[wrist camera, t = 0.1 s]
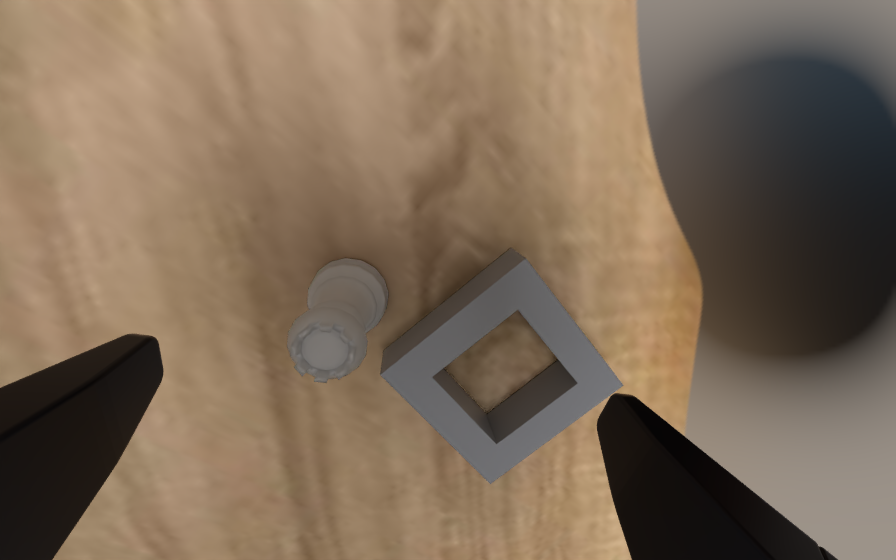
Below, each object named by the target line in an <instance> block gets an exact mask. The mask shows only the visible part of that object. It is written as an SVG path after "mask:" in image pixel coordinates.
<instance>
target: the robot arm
mask: <svg viewBox="0 0 896 560" xmlns="http://www.w3.org/2000/svg"><path fill="white" fill-rule="evenodd" d="M162 378H163V364H162V359H161V353H160V348H159V343H158V340H157V339H156V338H155V337H153V336H149V335H140V334H127V335H124V336H121V337H119V338H117V339H114V340H112V341H110V342H107V343H105V344H103V345H100V346H98V347H96V348H93V349H91V350H88V351H86V352H84V353H81V354H79V355H77V356H74V357H72V358H70V359H67V360H65V361H63V362H60V363H58V364H55V365H53V366H51V367H48V368H46V369H44V370H41V371H39V372H37V373H34V374H32V375H29V376H27V377H25V378H22V379H20V380H18V381H15V382H13V383H11V384H8V385H6V386H4V387H1V388H0V560H52V559H53V558H54V556H55V555H56V553H57V552H58V550H59V549H60V547H61V546H62V545H63V543H64V542H65V540H66V539H67V537H68V536H69V534H70V533H71V531H72V530H73V528H74V527H75V525H76V524H77V522H78V521H79V519H80V518H81V516H82V515H83V513H84V512H85V511H86V509H87V508H88V506H89V505H90V503H91V502H92V500H93V499H94V497H95V496H96V494H97V493H98V491H99V490H100V488H101V487H102V485H103V484H104V482H105V481H106V479H107V478H108V477H109V475H110V473H111V472H112V470H113V469H114V467H115V466H116V464H117V463H118V461H119V459H120V457H121V456H122V454H123V452H124V450H125V449H126V447H127V445H128V443H129V441H130V439H131V438H132V436H133V434H134V432H135V430H136V428H137V426H138V424H139V423H140V421H141V419H142V417H143V415H144V413H145V411H146V410H147V408H148V406H149V404H150V402H151V400H152V398H153V396H154V395H155V393H156V391H157V389H158V387H159V385H160V383H161V381H162ZM597 432H598V436H599V441H600V445H601V450H602V454H603V459H604V463H605V468H606V472H607V477H608V481H609V486H610V490H611V494H612V498H613V502H614V505H615V508H616V512H617V515H618V518H619V521H620V524H621V527H622V530H623V534H624V537H625V540H626V543H627V546H628V549H629V552H630V555H631V558H632V560H838V559H836V558H835V557H834V556H833V555H831V554H830V553H829V552H828V551H826V550H825V549H824V548H822V547H819V546H818V544H817V543H816V542H815V541H814V540H813V539H811V538H810V537H809V536H808V535H806V534H805V533H804V532H803V531H801V530H800V529H799V528H798V527H796V526H795V525H794V524H793V523H792V522H790V521H789V520H788V519H787V518H785V517H784V516H783V515H782V514H780V513H779V512H778V511H776V510H775V509H774V508H773V507H772V506H770V505H769V504H768V503H766V502H765V501H764V500H763V499H762V498H760V497H759V496H758V495H757V494H755V493H754V492H753V491H752V490H750V489H749V488H748V487H747V486H746V485H744V484H743V483H741V482H740V481H739V480H738V479H737V478H736V477H734V476H733V475H732V474H731V473H729V472H728V471H727V470H726V469H724V468H723V467H722V466H721V465H719V464H718V463H717V462H715V461H714V460H713V459H712V458H711V457H709V456H708V455H707V454H706V453H704V452H703V451H702V450H701V449H699V448H698V447H697V446H696V445H694V444H693V443H692V442H691V441H690V440H688V439H687V438H686V437H685V436H683V435H682V434H681V433H680V432H678V431H677V430H676V429H675V428H673V427H672V426H671V425H670V424H668V423H667V422H666V421H665V420H663V419H662V418H661V417H660V416H658V415H657V414H656V413H655V412H654V411H652V410H651V409H650V408H649V407H647V406H646V405H645V404H644V403H642V402H641V401H640V400H639V399H637V398H636V397H635V396H633V395H628V394H620V393H615V394H613V395H612V396H611V397H610V398H609V400H608V402H607V404H606V405H605V407H604V409H603V411H602V412H601V414H600V416H599V418H598V421H597Z"/></svg>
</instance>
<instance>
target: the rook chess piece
mask: <svg viewBox="0 0 896 560" xmlns="http://www.w3.org/2000/svg"><path fill="white" fill-rule="evenodd" d="M388 295H389V294H388V290H387V286H386V283H385V280H384V278H383V277H382V276H381V275H380V273H379V272H378V271H377V270H376V268H374V267H372V266H371V265H369V264H367V263H365V262H364V261H362V260H356V259H349V258H344V259H340V260H336V261H331V262H329V263H328V264H327V265H325V266H324V267H323V268H321V269H320V270H319V271H318V272H317V274H316V275H315V277H314V279H313V281H312V282H311V285H310V287H309V288H308V299H307V305H308V308H309V310H308V311H306V312H305V313H303V314H302V315H301V316H299V317H298V318H297V319H295V321H294V323H293V324H292V326H291V328H290V330H289V331H288V340H287V348H288V350H289V353H290V356H291V358H292V360H293V361H294V363H295V364H296V365H295V367H294V368H295V369H296V370H297V371H298V372H299V373H300V374H301V375H302V376H303V375H304V374H305V373H308V374H310V375H312V376H314V377H315V380H314V382H323V383H327V380H328V379H334V378H338V380H339V379H340V378H342V377H343V376H346V375H348V374H349V373H351V372H352V371H353V370H355V369H356V368H358V367H359V365H360V364H361V362H362V360H363V359H364V357H365V356H366V350H367V343H368V341H367V337H366V334H365V333H366V332H368V331H369V330H371V329H372V328H374V327H375V326H376V325H377V324H378V323H379V321H380V320H381V318H382V316H383V315H384V313H385V310H386V308H387V302H388Z"/></svg>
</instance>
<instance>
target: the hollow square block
mask: <svg viewBox="0 0 896 560" xmlns="http://www.w3.org/2000/svg"><path fill="white" fill-rule="evenodd" d="M517 310H519V312H520V313H521V314H522V315H523V317H524V318H525V319H526V320H527V322H528V323H529V324H530V325H531V326H532V328H533V329H534V330H535V331H536V333H537V334H538V335H539V336H540V338H541V339H542V340H543V341H544V342H545V344H546V345H547V346H548V347H549V349H550V350H551V351H552V352H553V353H554V355H555V356H556V357H557V358H558V360H557V361H556V362H555V363H553V364H552V365H551V366H550V367H548V368H547V369H546V370H544V371H543V372H542V373H540V374H539V375H538V376H536V377H535V378H534V379H532V380H531V381H530V382H529V383H527V384H526V385H525V386H523V387H522V388H521V389H519V390H518V391H517V392H515V393H514V394H513V395H511V396H510V397H509V398H508V399H506V400H505V401H504V402H502V403H501V404H500V405H498V406H497V407H496V408H494V409H493V410H492V411H491V412H489V413H488V414H486V413H485V412H484V411H483V410H482V409H481V408H480V407H479V406H478V405H477V404H476V403H475V402H474V400H473V399H472V398H471V397H470V396H469V395H468V394H467V393H466V392H465V391H464V390H463V389H462V388H461V387H460V386H459V384H458V383H457V382H456V381H455V380H454V379H453V378H452V377H451V376H450V375H449V374H448V373H447V372H446V371H445V370H444V367H446V366H447V365H448V364H449V363H451V362H452V361H453V360H454V359H456V358H457V357H458V356H459V355H461V354H462V353H463V352H465V351H466V350H467V349H468V348H470V347H471V346H472V345H473V344H475V343H476V342H477V341H479V340H480V339H481V338H482V337H484V336H485V335H486V334H487V333H489V332H490V331H491V330H493V329H494V328H495V327H496V326H498V325H499V324H500V323H501V322H503V321H504V320H505V319H507V318H508V317H509V316H510V315H512V314H513V313H514V312H515V311H517ZM380 375H381V376H382V377H383V378H384V379H385V380H386V381H387V382H388V383H389V384H390V385H391V386H392V387H393V388H394V389H395V390H396V391H397V392H398V393H399V394H400V395H401V396H402V397H403V398H404V399H405V400H406V401H407V402H408V403H409V404H410V405H411V406H412V407H413V408H414V409H415V410H416V411H417V412H418V413H419V414H420V415H421V416H422V417H423V418H424V419H425V420H426V421H427V422H428V423H429V424H430V425H431V426H432V427H433V428H434V429H435V430H436V431H437V432H438V433H439V434H440V435H441V436H442V437H443V438H444V439H445V440H446V441H447V442H448V443H449V444H450V445H451V446H452V447H453V448H454V449H455V450H457V451H458V452H459V453H460V454H461V455H462V456H463V457H464V458H465V459H466V460H467V461H468V462H469V463H470V464H471V465H472V466H473V467H474V468H475V469H476V470H477V471H478V472H479V473H480V474H481V475H482V476H483V477H484V478H485V479H486V480H487V481H488V482H489V483H490V484H491V483H492V482H494V481H495V480H496V479H498V478H499V477H500V476H502V475H503V474H504V473H506V472H507V471H508V470H510V469H511V468H513V467H514V466H515V465H517V464H518V463H519V462H521V461H522V460H523V459H525V458H526V457H527V456H529V455H530V454H531V453H533V452H534V451H535V450H537V449H538V448H539V447H541V446H542V445H544V444H545V443H546V442H548V441H549V440H550V439H552V438H553V437H554V436H556V435H557V434H558V433H560V432H561V431H562V430H564V429H565V428H566V427H568V426H569V425H571V424H572V423H573V422H575V421H576V420H577V419H579V418H580V417H581V416H583V415H584V414H585V413H587V412H588V411H589V410H591V409H592V408H593V407H595V406H596V405H598V404H599V403H600V402H602V401H603V400H604V399H606V398H607V397H608V396H610V395H611V394H612V393H614V392H615V391H616V390H618V389H619V388H620V387H622V386H623V384H622V383H621V382H620V380H619V379H618V378H617V376H616V375H615V374H614V372H613V371H612V370H611V368H610V367H609V366H608V365H607V363H606V362H605V361H604V359H603V358H602V357H601V355H600V354H599V353H598V352H597V350H596V349H595V348H594V346H593V345H592V344H591V342H590V341H589V340H588V339H587V337H586V336H585V335H584V333H583V332H582V331H581V329H580V328H579V327H578V326H577V324H576V323H575V322H574V320H573V319H572V318H571V316H570V315H569V314H568V313H567V311H566V310H565V309H564V307H563V306H562V305H561V303H560V302H559V301H558V299H557V298H556V297H555V296H554V294H553V293H552V292H551V290H550V289H549V288H548V286H547V285H546V284H545V283H544V281H543V280H542V279H541V277H540V276H539V275H538V273H537V272H536V271H535V270H534V268H533V267H532V266H531V264H530V263H529V262H528V260H527V259H526V258H525V257H523V256H522V255H521V254H519V253H518V252H517V251H515V250H514V249H512V248H510V249H509V250H508V251H506V252H505V253H504V254H503V255H501V256H500V257H499V258H498V259H496V260H495V261H494V262H493V263H491V264H490V265H489V266H488V267H486V268H485V269H484V270H483V271H482V272H480V273H479V274H478V275H477V276H475V277H474V278H473V279H472V280H470V281H469V282H468V283H467V284H465V285H464V286H463V287H462V288H460V289H459V290H458V291H457V292H455V293H454V294H453V295H452V296H451V297H449V298H448V299H447V300H446V301H444V302H443V303H442V304H441V305H439V306H438V307H437V308H436V309H434V310H433V311H432V312H431V313H429V314H428V315H427V316H426V317H424V318H423V319H422V320H421V321H420V322H418V323H417V324H416V325H415V326H413V327H412V328H411V329H410V330H408V331H407V332H406V333H405V334H403V335H402V336H401V337H400V338H398V339H397V340H396V341H395V342H393V343H392V344H391V345H390V346H389V347H387V348H386V349H385V350H384V351H383V357H382V365H381V373H380Z"/></svg>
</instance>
